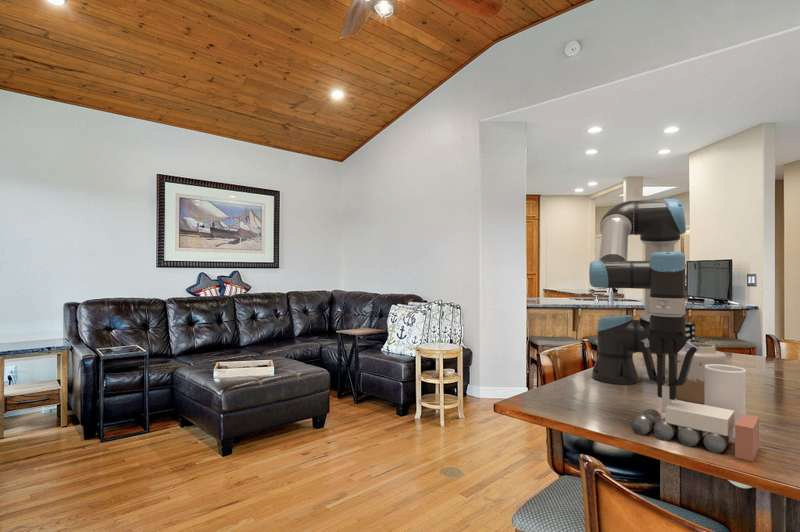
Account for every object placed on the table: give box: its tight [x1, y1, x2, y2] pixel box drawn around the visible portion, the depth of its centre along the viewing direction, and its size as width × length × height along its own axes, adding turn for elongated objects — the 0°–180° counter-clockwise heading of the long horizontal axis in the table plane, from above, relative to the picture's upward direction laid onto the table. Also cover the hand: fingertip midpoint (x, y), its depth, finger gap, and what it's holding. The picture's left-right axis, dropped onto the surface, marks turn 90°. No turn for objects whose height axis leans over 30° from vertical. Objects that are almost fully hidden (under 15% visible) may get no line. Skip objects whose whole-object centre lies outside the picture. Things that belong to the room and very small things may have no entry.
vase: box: [667, 341, 727, 405], centre depth 141 cm, size 15×15×17 cm
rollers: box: [631, 408, 733, 454], centre depth 107 cm, size 19×10×4 cm, turn 46°
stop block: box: [734, 414, 760, 463], centre depth 99 cm, size 3×10×7 cm, turn 135°
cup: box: [704, 364, 747, 440], centre depth 111 cm, size 8×8×16 cm
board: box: [664, 399, 735, 436], centre depth 105 cm, size 12×9×4 cm
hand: (666, 411), depth 109 cm, fingers closed
